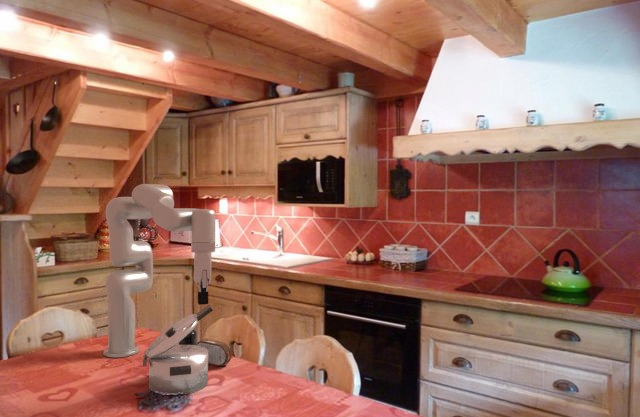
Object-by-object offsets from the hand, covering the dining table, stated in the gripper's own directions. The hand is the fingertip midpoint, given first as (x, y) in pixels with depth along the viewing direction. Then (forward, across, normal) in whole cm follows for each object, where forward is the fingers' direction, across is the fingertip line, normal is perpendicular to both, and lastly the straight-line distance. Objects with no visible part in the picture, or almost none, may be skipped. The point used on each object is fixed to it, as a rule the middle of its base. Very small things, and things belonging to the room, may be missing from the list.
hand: (203, 303), depth 150 cm
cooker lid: (+9, 0, -7) cm, 11 cm away
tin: (+26, -16, +5) cm, 31 cm away
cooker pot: (+25, 0, -7) cm, 26 cm away
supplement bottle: (+25, -28, -3) cm, 38 cm away
